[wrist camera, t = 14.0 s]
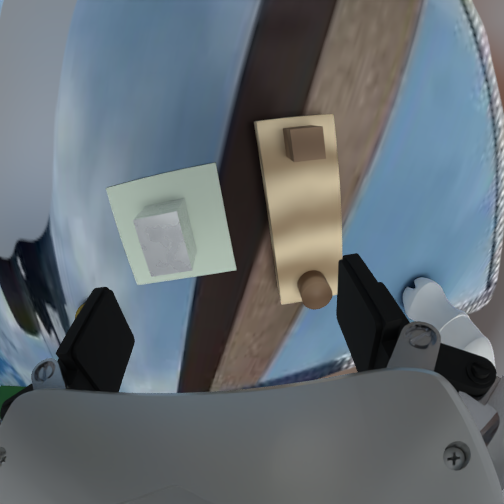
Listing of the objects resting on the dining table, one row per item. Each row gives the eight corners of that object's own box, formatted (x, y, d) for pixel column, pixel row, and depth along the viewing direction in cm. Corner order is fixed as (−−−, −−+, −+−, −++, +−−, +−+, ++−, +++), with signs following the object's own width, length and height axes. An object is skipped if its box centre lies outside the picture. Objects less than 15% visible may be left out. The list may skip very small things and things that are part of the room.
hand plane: (253, 121, 30) (259, 122, 23) (322, 114, 30) (347, 114, 23) (277, 287, 40) (286, 324, 33) (333, 277, 40) (351, 312, 33)
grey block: (145, 206, 33) (132, 220, 29) (184, 198, 33) (176, 211, 29) (160, 257, 37) (151, 276, 32) (197, 250, 36) (192, 270, 32)
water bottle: (422, 309, 44) (496, 414, 22) (391, 308, 44) (466, 429, 21) (438, 273, 41) (529, 376, 19) (407, 271, 40) (503, 388, 18)
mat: (107, 187, 32) (105, 188, 32) (215, 162, 32) (215, 162, 32) (138, 283, 39) (137, 285, 38) (236, 268, 38) (236, 269, 38)
